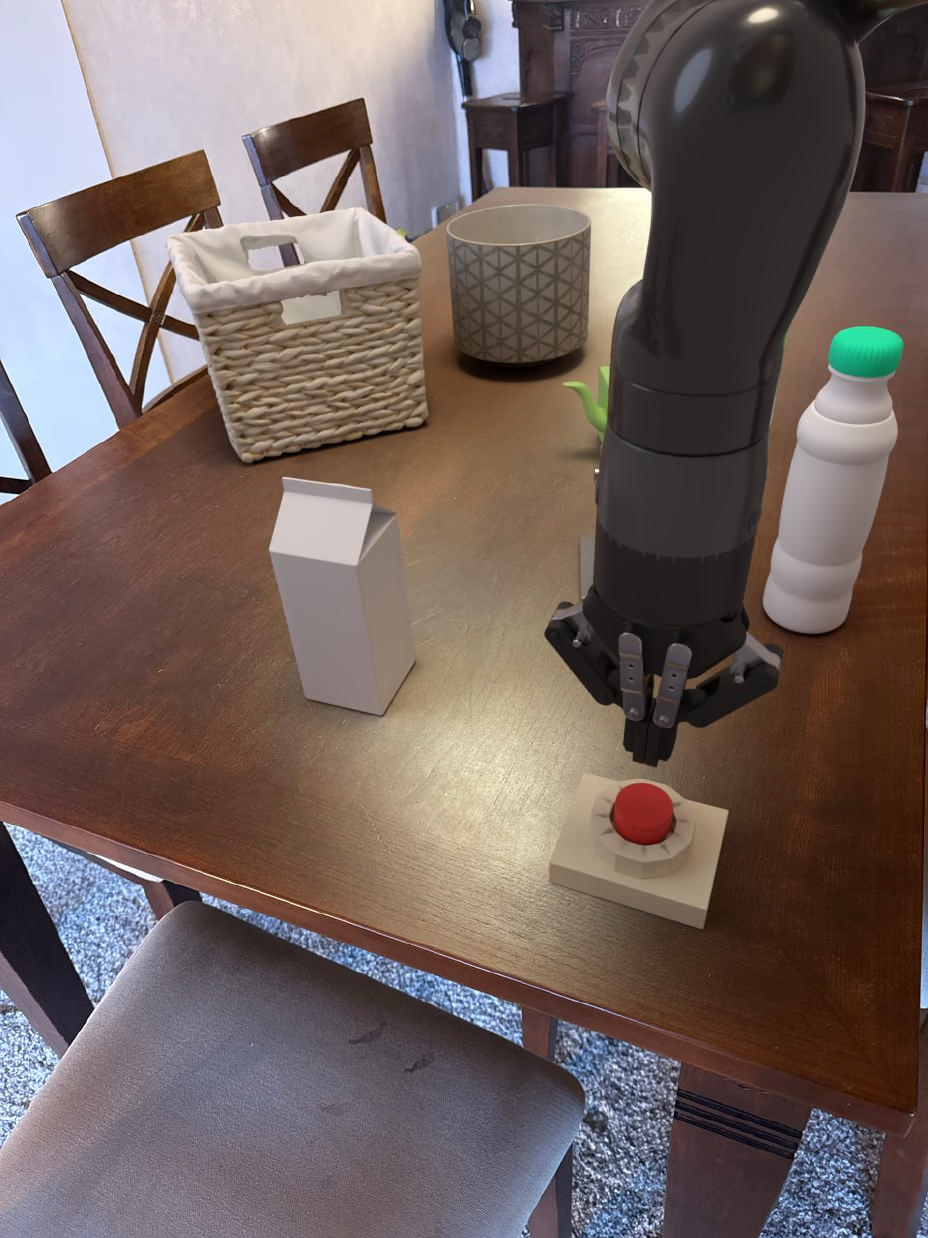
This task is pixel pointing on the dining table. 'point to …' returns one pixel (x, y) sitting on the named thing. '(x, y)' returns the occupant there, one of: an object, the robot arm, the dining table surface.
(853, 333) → the water bottle
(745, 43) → the robot arm
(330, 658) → the milk carton
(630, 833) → the button
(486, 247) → the planter
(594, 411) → the teapot
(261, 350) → the basket
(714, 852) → the box
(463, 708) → the dining table surface
